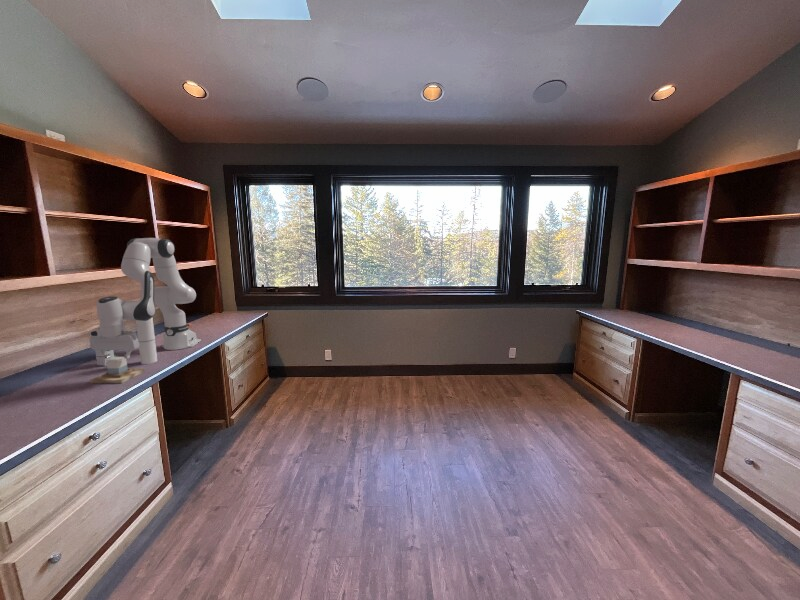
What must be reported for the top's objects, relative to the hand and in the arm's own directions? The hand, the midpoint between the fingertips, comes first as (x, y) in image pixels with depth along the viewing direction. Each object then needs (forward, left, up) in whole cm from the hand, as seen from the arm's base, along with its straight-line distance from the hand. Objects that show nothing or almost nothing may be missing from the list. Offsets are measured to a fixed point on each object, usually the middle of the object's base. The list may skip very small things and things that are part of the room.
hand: (117, 358), depth 151 cm
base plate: (+1, 0, -10) cm, 9 cm away
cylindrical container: (-20, -1, -10) cm, 23 cm away
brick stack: (+1, 0, -8) cm, 8 cm away
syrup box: (-17, -21, -10) cm, 29 cm away
